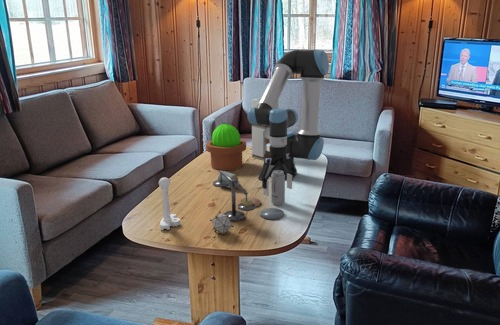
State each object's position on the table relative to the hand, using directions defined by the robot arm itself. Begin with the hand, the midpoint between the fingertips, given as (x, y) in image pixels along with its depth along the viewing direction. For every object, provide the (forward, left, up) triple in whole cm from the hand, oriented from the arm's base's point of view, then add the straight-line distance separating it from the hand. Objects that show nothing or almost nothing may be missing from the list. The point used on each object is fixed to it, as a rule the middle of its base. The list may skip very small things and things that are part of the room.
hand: (277, 191), depth 200 cm
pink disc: (+10, -8, -6) cm, 14 cm away
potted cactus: (-14, -61, -6) cm, 63 cm away
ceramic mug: (+4, -32, -6) cm, 33 cm away
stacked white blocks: (-42, -61, -6) cm, 74 cm away
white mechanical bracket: (+48, -10, -6) cm, 49 cm away
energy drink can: (0, 0, -6) cm, 6 cm away
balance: (+24, 0, -6) cm, 25 cm away
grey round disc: (+10, +8, -6) cm, 14 cm away
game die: (+36, +9, -6) cm, 38 cm away
